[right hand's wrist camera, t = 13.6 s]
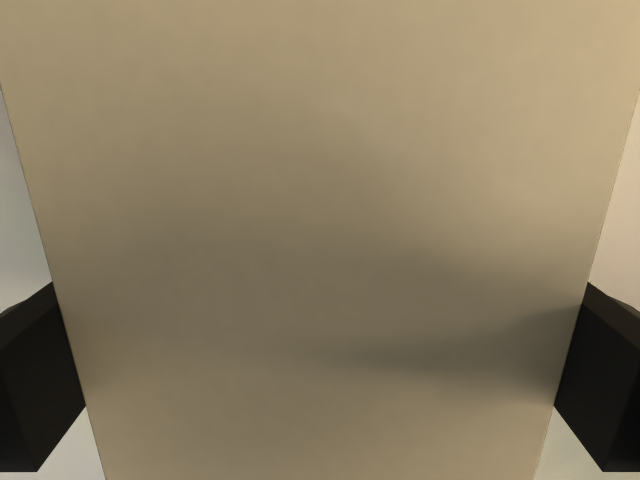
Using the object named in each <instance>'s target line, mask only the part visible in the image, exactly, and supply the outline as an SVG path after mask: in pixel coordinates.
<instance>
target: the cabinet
mask: <svg viewBox="0 0 640 480" xmlns="http://www.w3.org/2000/svg"><path fill="white" fill-rule="evenodd" d="M0 87H1V91H2V94H3V98H4V102H5V106H6V109H7V113H8V117H9V121H10V124H11V128H12V132H13V136H14V139H15V143H16V147H17V150H18V154H19V158H20V162H21V165H22V169H23V173H24V177H25V180H26V184H27V188H28V191H29V195H30V199H31V203H32V206H33V210H34V214H35V218H36V221H37V225H38V229H39V233H40V236H41V240H42V244H43V247H44V251H45V255H46V259H47V262H48V266H49V270H50V274H51V277H52V281H53V285H54V288H55V292H56V296H57V300H58V303H59V307H60V311H61V315H62V318H63V322H64V326H65V330H66V333H67V337H68V341H69V344H70V348H71V352H72V356H73V359H74V363H75V367H76V371H77V374H78V378H79V382H80V385H81V389H82V393H83V397H84V400H85V404H86V408H87V412H88V415H89V419H90V423H91V427H92V430H93V434H94V438H95V441H96V445H97V449H98V453H99V456H100V460H101V464H102V468H103V471H104V475H105V479H106V480H534V476H535V473H536V469H537V465H538V462H539V458H540V454H541V451H542V447H543V443H544V440H545V436H546V432H547V429H548V425H549V421H550V418H551V414H552V410H553V407H554V403H555V399H556V396H557V392H558V388H559V385H560V381H561V377H562V374H563V370H564V366H565V363H566V359H567V355H568V352H569V348H570V344H571V341H572V337H573V333H574V329H575V326H576V322H577V318H578V315H579V311H580V307H581V304H582V300H583V296H584V293H585V289H586V285H587V282H588V278H589V274H590V271H591V267H592V263H593V260H594V256H595V252H596V249H597V245H598V241H599V238H600V234H601V230H602V227H603V223H604V219H605V216H606V212H607V208H608V205H609V201H610V197H611V194H612V190H613V186H614V183H615V179H616V175H617V172H618V168H619V164H620V161H621V157H622V153H623V150H624V146H625V142H626V139H627V135H628V131H629V128H630V124H631V120H632V117H633V113H634V109H635V106H636V102H637V98H638V95H639V91H640V0H0Z"/></svg>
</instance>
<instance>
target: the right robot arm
mask: <svg viewBox="0 0 640 480" xmlns="http://www.w3.org/2000/svg"><path fill="white" fill-rule="evenodd" d="M85 406H86V404H85V400H84V397H83V393H82V389H81V385H80V382H79V378H78V374H77V371H76V367H75V363H74V359H73V356H72V352H71V348H70V344H69V341H68V337H67V333H66V330H65V326H64V322H63V318H62V315H61V311H60V307H59V303H58V300H57V296H56V292H55V288H54V285H53V281H52V282H50V283H49V284H48V285H46V286H45V287H43V288H42V289H41V290H39V291H38V292H36V293H35V294H34V295H32V296H31V297H29V298H28V299H27V300H25V301H22V302H20V303H18V304H16V305H14V306H11V307H9V308H7V309H6V310H5V311H3V312H2V313H0V472H37V471H38V470H39V468H40V467H41V466H42V464H43V463H44V462H45V460H46V459H47V458H48V456H49V455H50V454H51V452H52V451H53V450H54V448H55V447H56V446H57V444H58V443H59V441H60V440H61V439H62V437H63V436H64V435H65V433H66V432H67V431H68V429H69V428H70V427H71V425H72V424H73V423H74V421H75V420H76V419H77V417H78V416H79V414H80V413H81V412H82V410H83V409H84V408H85ZM554 407H555V408H556V410H557V411H558V412H559V414H560V415H561V416H562V418H563V419H564V420H565V422H566V423H567V424H568V426H569V427H570V429H571V430H572V431H573V433H574V434H575V435H576V437H577V438H578V439H579V441H580V442H581V443H582V445H583V446H584V447H585V449H586V450H587V451H588V453H589V454H590V456H591V457H592V458H593V460H594V461H595V462H596V464H597V465H598V466H599V468H600V469H601V470H602V472H640V312H639V311H638V310H636V309H635V308H633V307H632V306H630V305H628V304H625V303H623V302H621V301H619V300H616V299H614V298H612V297H610V296H607V295H606V294H605V293H603V292H602V291H600V290H599V289H597V288H596V287H595V286H593V285H592V284H590V283H589V282H587V285H586V289H585V293H584V296H583V300H582V304H581V307H580V311H579V315H578V318H577V322H576V326H575V329H574V333H573V337H572V341H571V344H570V348H569V352H568V355H567V359H566V363H565V366H564V370H563V374H562V377H561V381H560V385H559V388H558V392H557V396H556V399H555V403H554Z"/></svg>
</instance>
